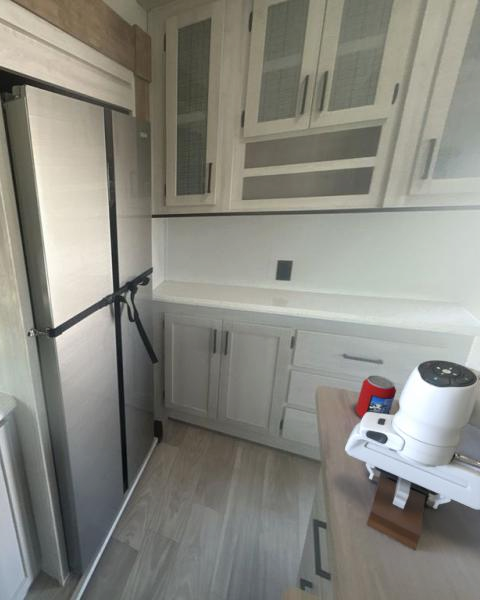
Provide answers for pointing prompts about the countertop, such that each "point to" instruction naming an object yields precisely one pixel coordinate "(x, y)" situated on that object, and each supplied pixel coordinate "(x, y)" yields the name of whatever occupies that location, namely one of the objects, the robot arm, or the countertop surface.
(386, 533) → the tap plinth
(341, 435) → the countertop surface
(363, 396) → the beverage can
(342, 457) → the countertop surface
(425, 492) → the sink basin
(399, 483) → the white red-tipped brick
